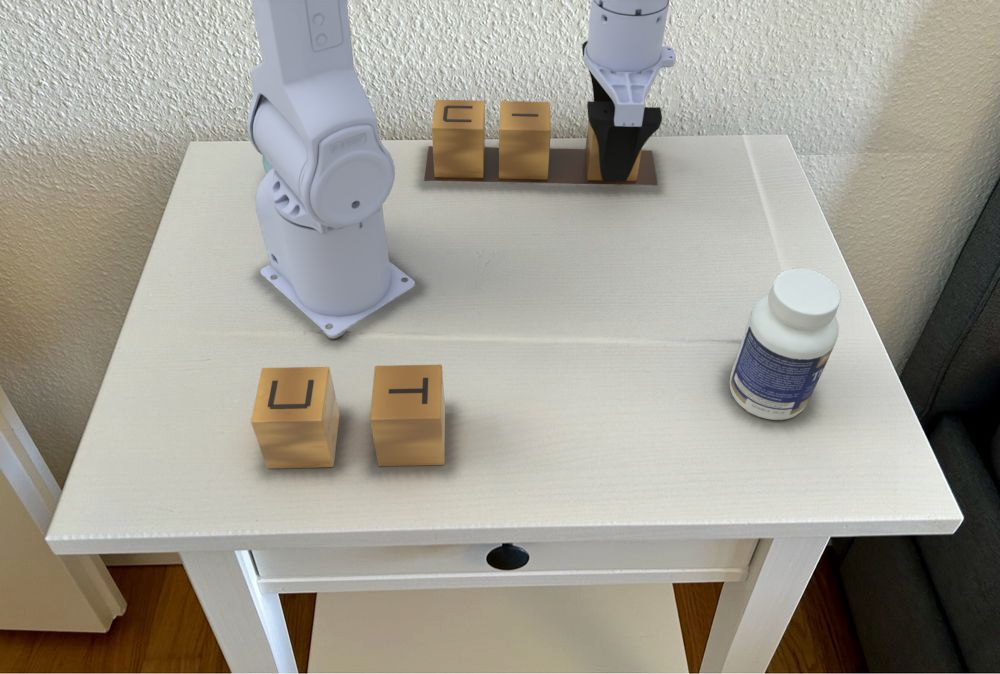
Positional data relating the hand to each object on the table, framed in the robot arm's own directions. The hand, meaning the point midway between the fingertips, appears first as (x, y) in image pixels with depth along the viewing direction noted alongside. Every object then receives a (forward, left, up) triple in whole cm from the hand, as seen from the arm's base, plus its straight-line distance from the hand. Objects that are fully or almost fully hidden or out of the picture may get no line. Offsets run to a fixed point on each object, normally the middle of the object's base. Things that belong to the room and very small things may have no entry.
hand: (611, 150), depth 73 cm
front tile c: (+5, -36, -2) cm, 36 cm away
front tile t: (+10, -31, -2) cm, 32 cm away
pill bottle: (+24, -10, -2) cm, 26 cm away
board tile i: (-5, -5, -2) cm, 8 cm away
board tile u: (-9, -9, -2) cm, 13 cm away
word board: (-4, -4, -2) cm, 6 cm away
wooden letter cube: (0, 0, -2) cm, 2 cm away
